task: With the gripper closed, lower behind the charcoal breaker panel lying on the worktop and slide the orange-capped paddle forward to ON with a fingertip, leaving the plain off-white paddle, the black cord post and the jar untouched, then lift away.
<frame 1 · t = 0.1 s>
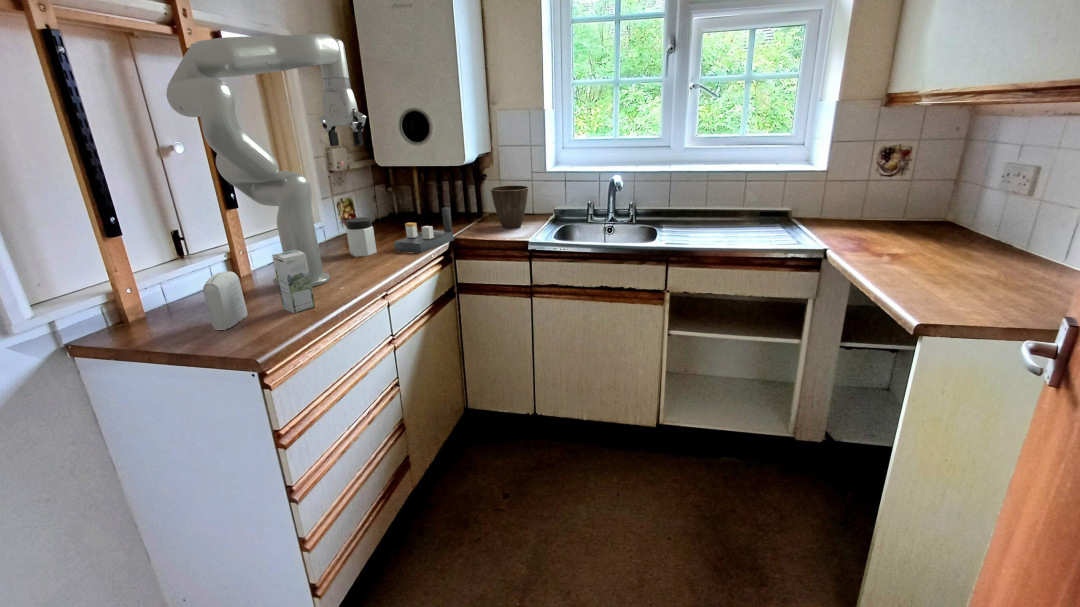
hand: (346, 145, 161), 37 cm above the table, tool pointing down, fingers open, 9 cm apart
cord post: (449, 239, 197), on the table
paddle on: (411, 230, 186), point 6 cm above the table, slide at 0.0 cm
paddle off: (427, 232, 183), point 6 cm above the table, slide at 0.0 cm
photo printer: (232, 324, 125), on the table
plant pot: (511, 227, 213), on the table
syrup box: (300, 309, 132), on the table
jar: (363, 254, 182), on the table
breaker panel: (425, 245, 190), on the table
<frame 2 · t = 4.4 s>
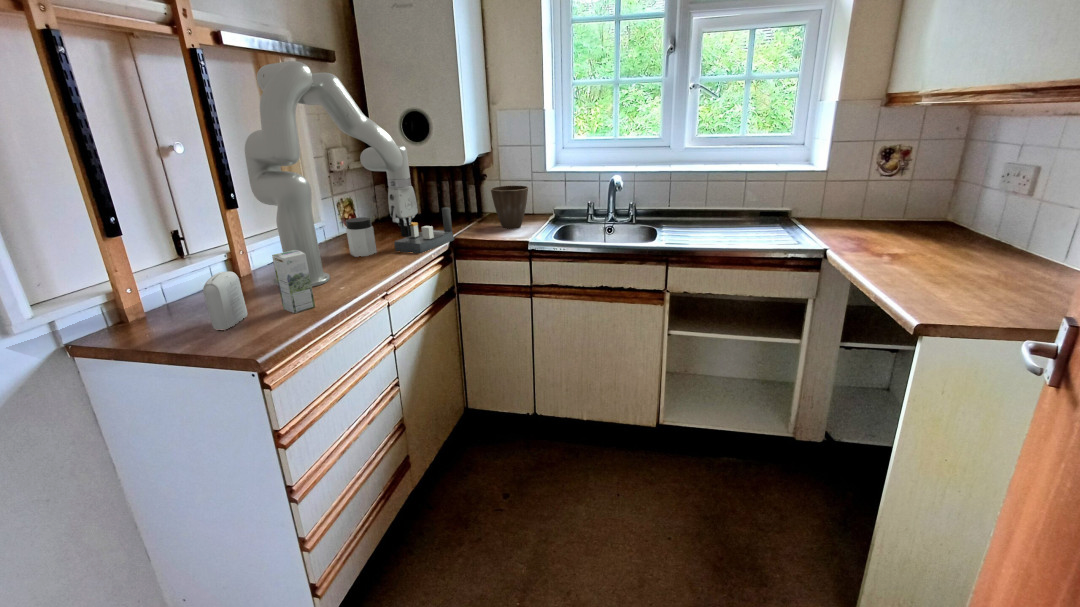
hand: (406, 236, 184), 5 cm above the table, tool pointing down, fingers closed
paddle on: (412, 229, 187), point 6 cm above the table, slide at 0.7 cm, touching gripper
everything else where it was.
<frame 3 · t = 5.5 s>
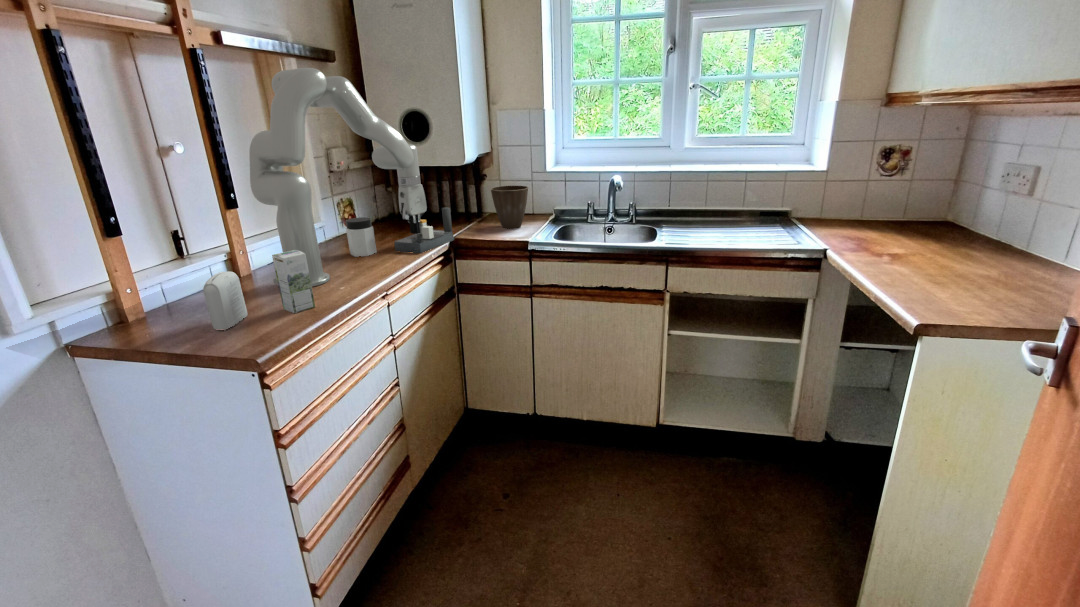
hand: (415, 233, 188), 5 cm above the table, tool pointing down, fingers closed
paddle on: (421, 226, 191), point 6 cm above the table, slide at 5.9 cm, touching gripper
everything else where it was.
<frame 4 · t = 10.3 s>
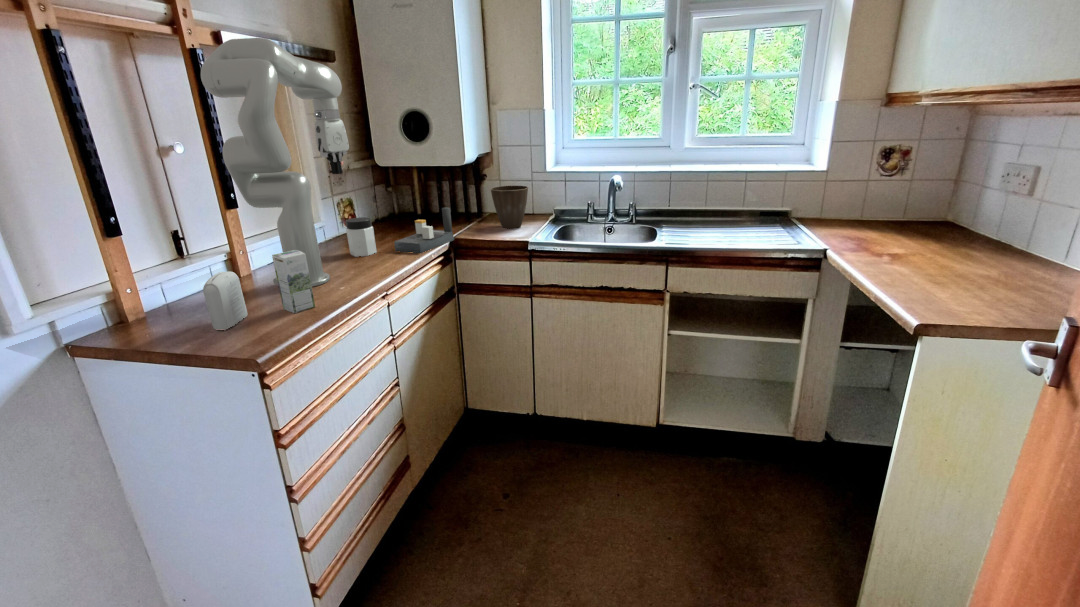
hand: (337, 173, 176), 27 cm above the table, tool pointing down, fingers closed
paddle on: (421, 226, 191), point 6 cm above the table, slide at 5.6 cm
everything else where it was.
at the end: paddle on slide at 5.6 cm; paddle off slide at 0.0 cm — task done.
